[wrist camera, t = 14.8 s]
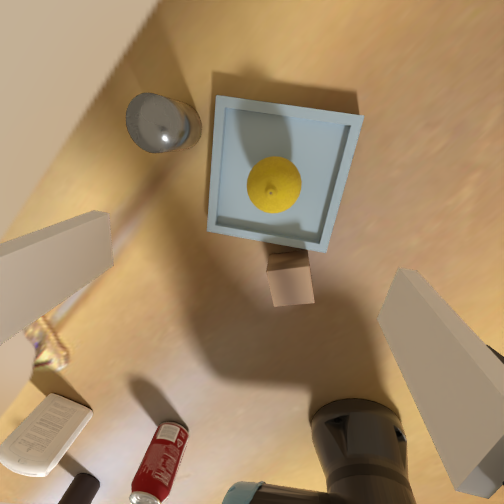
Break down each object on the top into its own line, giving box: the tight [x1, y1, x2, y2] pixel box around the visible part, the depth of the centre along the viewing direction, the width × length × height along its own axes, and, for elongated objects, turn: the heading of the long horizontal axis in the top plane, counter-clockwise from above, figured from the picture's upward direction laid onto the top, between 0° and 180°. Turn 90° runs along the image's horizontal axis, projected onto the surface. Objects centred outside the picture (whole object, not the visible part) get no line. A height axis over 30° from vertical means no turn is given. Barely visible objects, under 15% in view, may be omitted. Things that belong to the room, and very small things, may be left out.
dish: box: [207, 95, 364, 253], centre depth 30 cm, size 15×15×2 cm
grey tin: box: [126, 93, 202, 153], centre depth 28 cm, size 5×5×7 cm
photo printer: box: [0, 393, 93, 477], centre depth 51 cm, size 10×4×12 cm, turn 68°
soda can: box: [129, 422, 189, 504], centre depth 49 cm, size 7×7×12 cm
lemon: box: [247, 156, 302, 213], centre depth 27 cm, size 6×6×8 cm
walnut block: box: [266, 250, 315, 307], centre depth 34 cm, size 5×5×5 cm
